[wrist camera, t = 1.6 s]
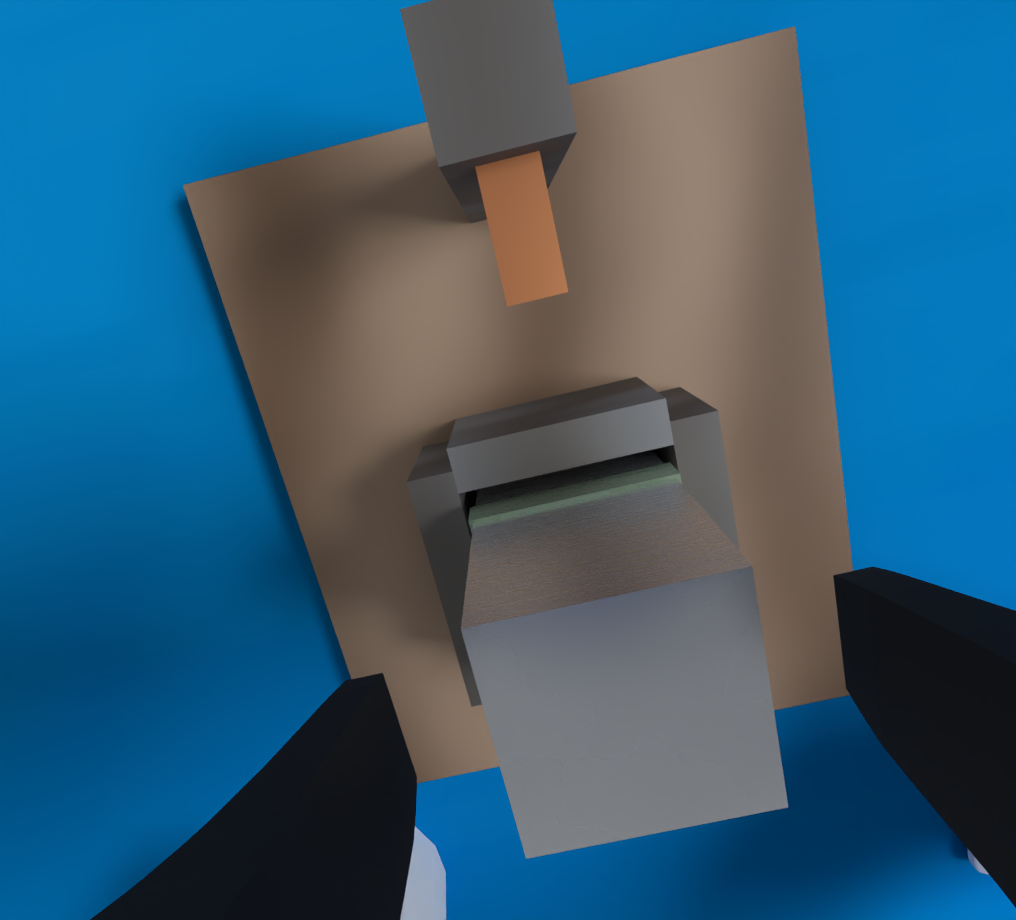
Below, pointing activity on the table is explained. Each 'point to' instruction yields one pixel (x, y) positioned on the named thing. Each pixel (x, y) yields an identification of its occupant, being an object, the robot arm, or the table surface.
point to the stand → (540, 334)
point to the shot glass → (425, 882)
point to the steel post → (617, 657)
